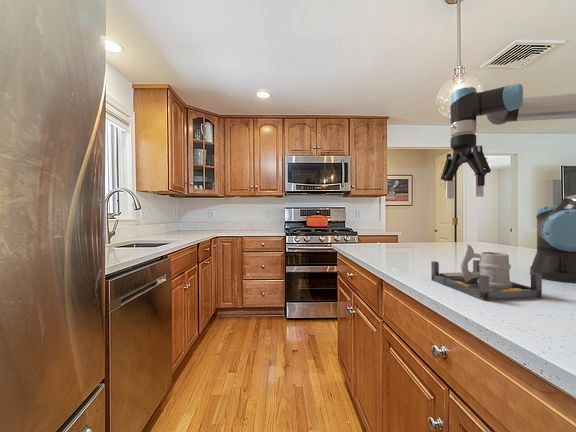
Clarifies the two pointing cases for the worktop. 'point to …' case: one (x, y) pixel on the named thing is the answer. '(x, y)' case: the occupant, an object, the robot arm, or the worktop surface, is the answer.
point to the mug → (488, 268)
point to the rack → (487, 285)
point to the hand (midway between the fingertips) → (463, 197)
